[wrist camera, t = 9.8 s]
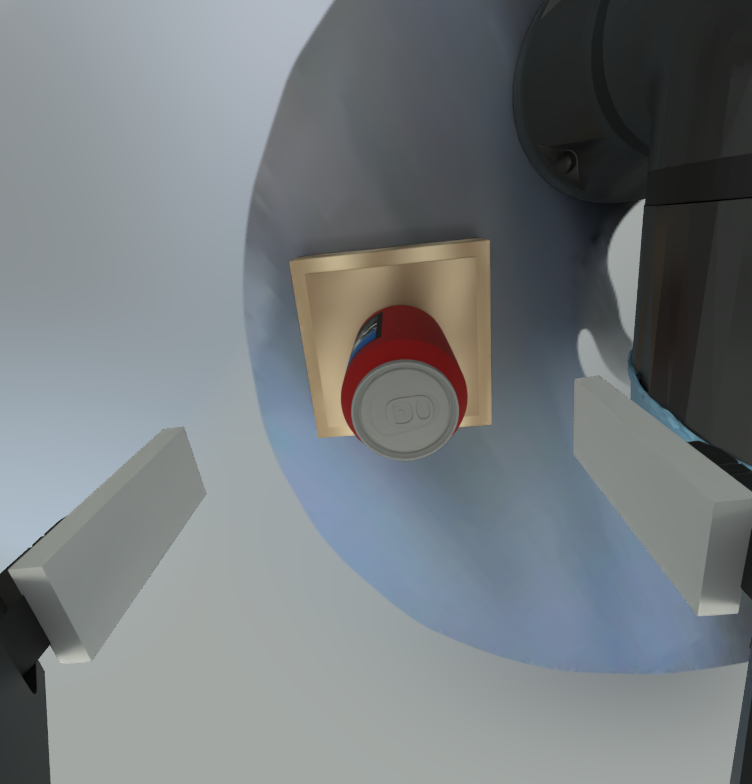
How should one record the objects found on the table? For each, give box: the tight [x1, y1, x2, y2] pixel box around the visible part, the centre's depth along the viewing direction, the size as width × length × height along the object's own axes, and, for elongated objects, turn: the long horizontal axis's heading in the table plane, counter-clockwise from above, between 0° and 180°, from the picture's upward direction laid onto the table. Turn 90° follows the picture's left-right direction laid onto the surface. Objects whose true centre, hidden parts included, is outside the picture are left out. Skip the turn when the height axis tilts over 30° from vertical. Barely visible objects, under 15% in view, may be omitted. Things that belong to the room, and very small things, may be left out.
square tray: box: [289, 238, 491, 438], centre depth 35 cm, size 14×14×4 cm
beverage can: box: [341, 305, 468, 461], centre depth 27 cm, size 7×7×12 cm
